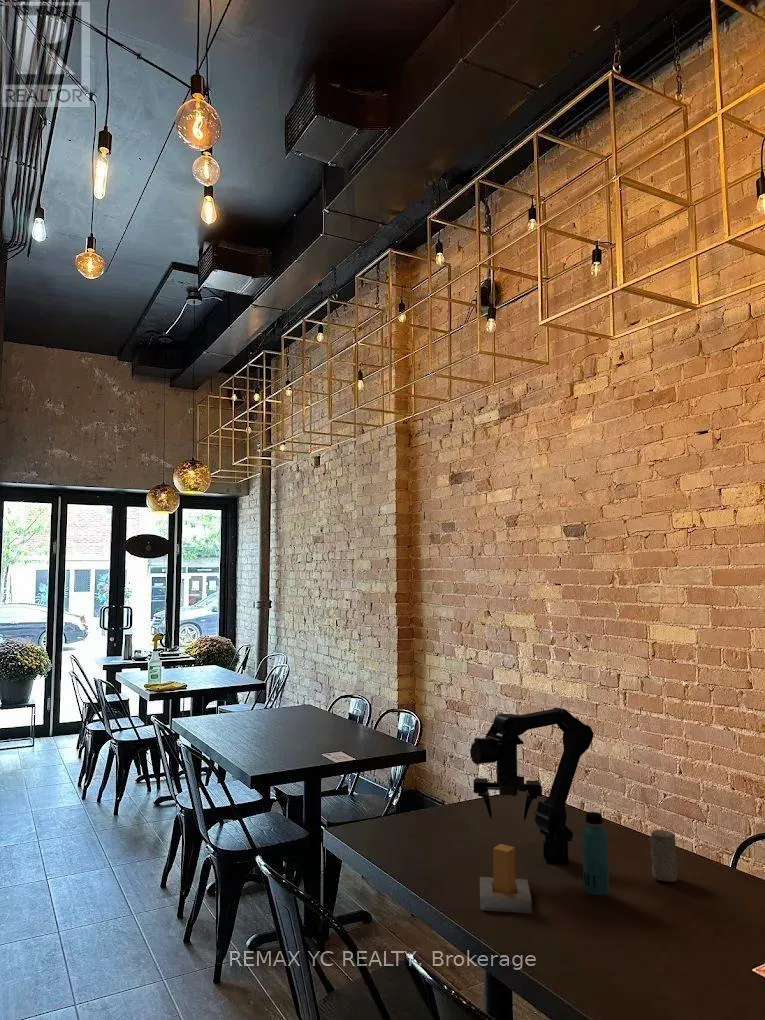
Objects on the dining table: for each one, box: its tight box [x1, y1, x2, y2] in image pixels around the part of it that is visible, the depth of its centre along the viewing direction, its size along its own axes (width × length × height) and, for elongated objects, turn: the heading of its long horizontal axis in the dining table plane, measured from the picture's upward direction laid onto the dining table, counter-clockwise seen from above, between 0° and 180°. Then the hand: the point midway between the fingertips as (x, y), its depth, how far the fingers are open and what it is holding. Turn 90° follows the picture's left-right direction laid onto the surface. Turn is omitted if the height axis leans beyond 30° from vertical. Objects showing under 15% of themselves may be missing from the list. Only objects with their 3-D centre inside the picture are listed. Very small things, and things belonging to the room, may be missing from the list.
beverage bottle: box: [581, 811, 610, 896], centre depth 176 cm, size 6×7×20 cm
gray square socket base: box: [479, 876, 533, 914], centre depth 172 cm, size 12×12×3 cm
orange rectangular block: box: [492, 843, 516, 894], centre depth 173 cm, size 4×4×12 cm
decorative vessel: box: [650, 829, 678, 883], centre depth 186 cm, size 6×8×12 cm
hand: (507, 819), depth 194 cm, fingers open, 9 cm apart
